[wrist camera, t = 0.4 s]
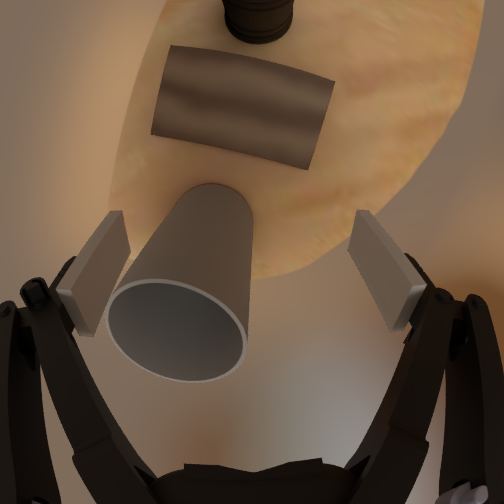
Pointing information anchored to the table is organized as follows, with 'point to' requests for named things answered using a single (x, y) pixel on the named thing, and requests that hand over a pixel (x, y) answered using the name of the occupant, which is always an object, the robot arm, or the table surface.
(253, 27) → the container
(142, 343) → the cylinder vase
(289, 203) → the table surface
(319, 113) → the shelf board
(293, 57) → the table surface
